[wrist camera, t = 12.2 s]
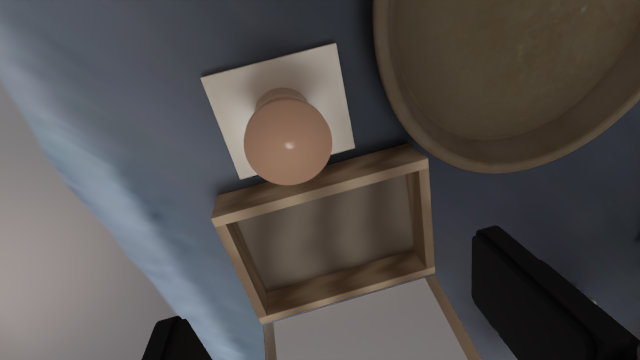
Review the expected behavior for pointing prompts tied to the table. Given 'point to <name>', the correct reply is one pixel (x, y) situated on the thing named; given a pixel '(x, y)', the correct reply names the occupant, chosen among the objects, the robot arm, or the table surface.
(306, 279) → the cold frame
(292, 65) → the sandstone tile
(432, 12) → the plant saucer
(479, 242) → the robot arm
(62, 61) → the table surface
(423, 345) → the lid
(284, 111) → the tan rounded knob
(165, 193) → the table surface
